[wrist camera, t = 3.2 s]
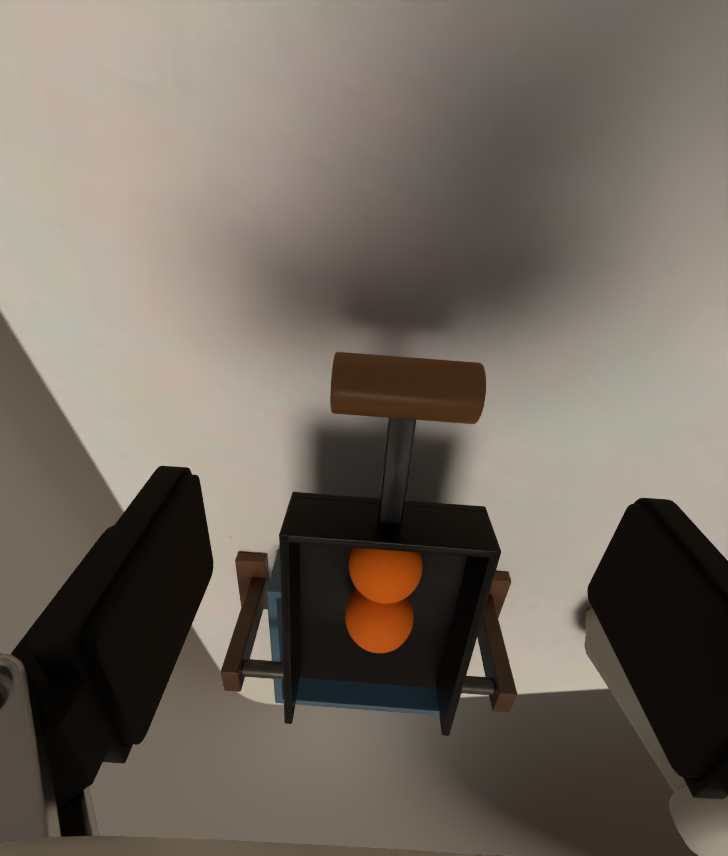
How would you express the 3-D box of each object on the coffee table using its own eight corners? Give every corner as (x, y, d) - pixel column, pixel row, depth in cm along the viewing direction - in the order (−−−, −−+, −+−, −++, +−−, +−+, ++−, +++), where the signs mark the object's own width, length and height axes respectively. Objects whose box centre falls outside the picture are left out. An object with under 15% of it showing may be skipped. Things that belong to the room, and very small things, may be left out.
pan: (291, 337, 16) (274, 361, 14) (522, 355, 16) (549, 383, 14) (294, 671, 25) (284, 723, 23) (442, 682, 25) (449, 736, 23)
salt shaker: (556, 620, 32) (647, 859, 21) (614, 576, 29) (754, 823, 18) (614, 645, 33) (729, 883, 22) (674, 605, 31) (840, 853, 20)
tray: (278, 548, 29) (266, 591, 26) (470, 563, 29) (480, 607, 26) (284, 659, 36) (275, 703, 33) (439, 671, 36) (445, 716, 33)
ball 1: (352, 514, 20) (350, 538, 17) (420, 519, 20) (431, 544, 17) (347, 580, 20) (344, 615, 17) (414, 585, 20) (423, 622, 17)
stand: (238, 551, 30) (198, 655, 23) (508, 572, 30) (543, 681, 23) (244, 598, 32) (209, 703, 26) (493, 617, 32) (519, 726, 26)
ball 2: (348, 574, 22) (347, 577, 19) (410, 579, 22) (419, 583, 19) (343, 643, 21) (341, 657, 18) (407, 648, 21) (416, 663, 18)
